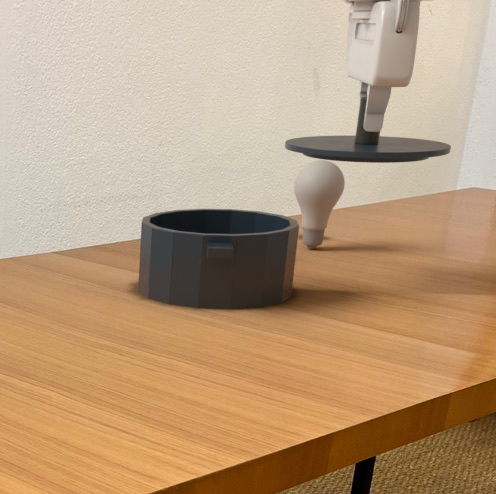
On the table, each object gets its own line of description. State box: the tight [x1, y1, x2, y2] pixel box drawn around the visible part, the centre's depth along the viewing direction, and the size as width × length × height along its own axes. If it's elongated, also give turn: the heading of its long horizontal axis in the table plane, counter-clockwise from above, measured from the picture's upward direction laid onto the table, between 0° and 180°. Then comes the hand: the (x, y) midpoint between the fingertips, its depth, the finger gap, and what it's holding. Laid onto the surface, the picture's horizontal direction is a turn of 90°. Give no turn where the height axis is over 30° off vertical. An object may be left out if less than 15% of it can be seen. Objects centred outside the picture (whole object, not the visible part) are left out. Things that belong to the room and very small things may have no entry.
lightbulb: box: [293, 159, 346, 250], centre depth 134 cm, size 6×6×11 cm
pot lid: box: [284, 97, 452, 164], centre depth 110 cm, size 17×17×6 cm
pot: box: [137, 208, 300, 310], centre depth 109 cm, size 16×21×8 cm
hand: (368, 129), depth 110 cm, fingers closed on pot lid, 2 cm apart
